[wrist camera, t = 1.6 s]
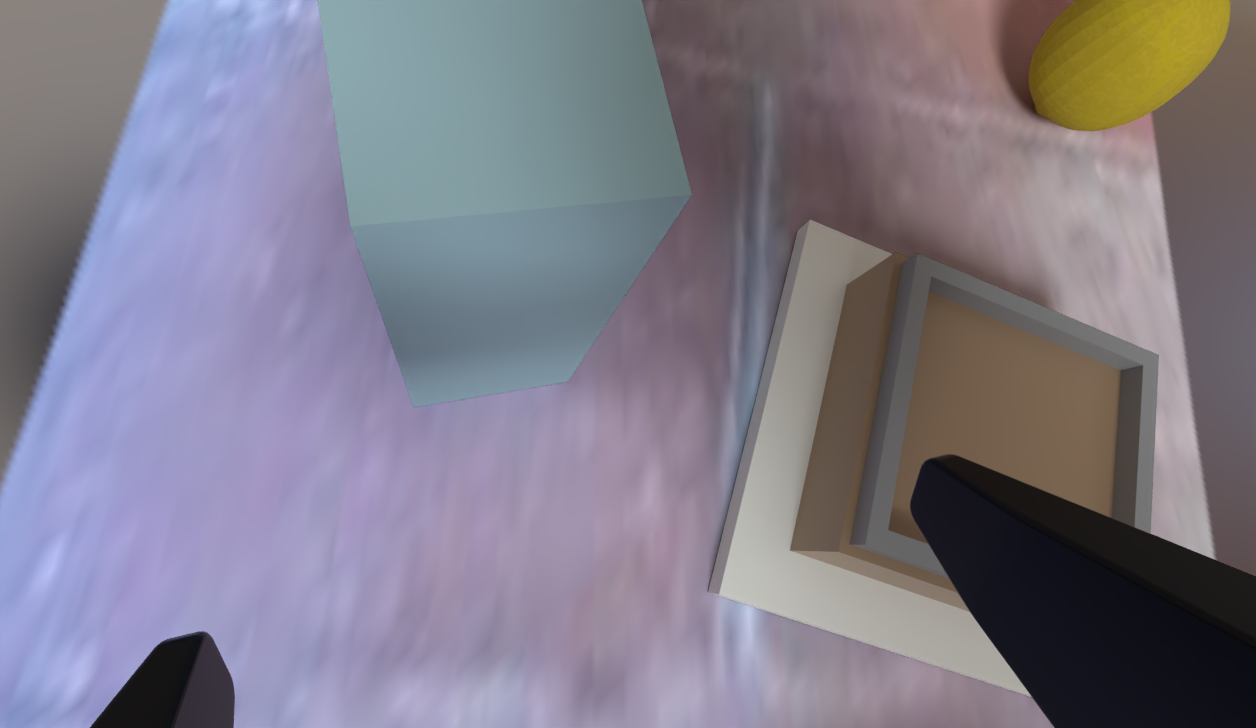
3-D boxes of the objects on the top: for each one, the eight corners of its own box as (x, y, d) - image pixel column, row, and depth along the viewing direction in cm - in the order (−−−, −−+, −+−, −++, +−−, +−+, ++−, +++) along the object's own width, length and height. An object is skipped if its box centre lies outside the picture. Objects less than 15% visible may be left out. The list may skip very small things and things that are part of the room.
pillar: (567, 381, 23) (691, 194, 10) (413, 407, 21) (350, 226, 9) (539, 245, 24) (623, -72, 11) (390, 261, 22) (306, -80, 10)
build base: (1066, 708, 24) (1206, 747, 19) (708, 592, 22) (771, 605, 17) (1094, 354, 28) (1214, 318, 24) (797, 231, 26) (867, 166, 22)
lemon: (966, 78, 31) (1131, -73, 23) (1046, 46, 32) (1223, -103, 25) (1031, 181, 30) (1222, 60, 22) (1109, 143, 32) (1310, 19, 24)
